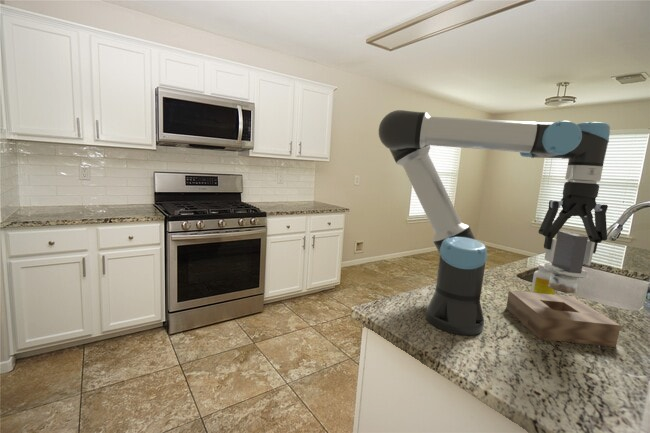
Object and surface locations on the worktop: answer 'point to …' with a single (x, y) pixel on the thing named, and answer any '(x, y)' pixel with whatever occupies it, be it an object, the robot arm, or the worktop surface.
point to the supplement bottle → (541, 281)
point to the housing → (562, 319)
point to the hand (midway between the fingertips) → (566, 262)
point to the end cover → (567, 262)
